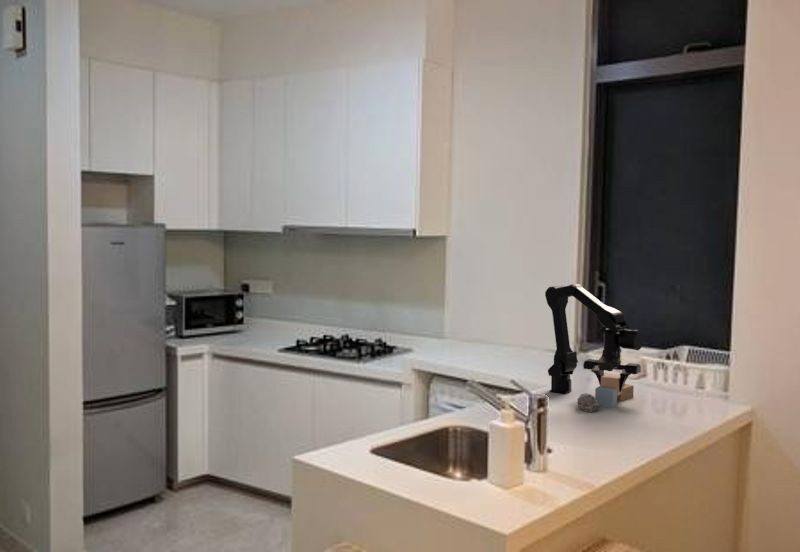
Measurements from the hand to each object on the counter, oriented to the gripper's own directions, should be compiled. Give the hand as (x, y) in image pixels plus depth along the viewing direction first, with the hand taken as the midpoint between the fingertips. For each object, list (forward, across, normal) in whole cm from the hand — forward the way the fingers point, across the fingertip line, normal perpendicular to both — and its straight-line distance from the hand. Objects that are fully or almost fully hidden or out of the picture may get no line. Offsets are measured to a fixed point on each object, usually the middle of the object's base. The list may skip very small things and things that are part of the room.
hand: (611, 390), depth 253 cm
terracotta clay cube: (+1, 0, 0) cm, 1 cm away
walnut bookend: (+4, 0, +8) cm, 9 cm away
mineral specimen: (+4, -3, -14) cm, 15 cm away
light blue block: (+4, 0, -6) cm, 7 cm away
